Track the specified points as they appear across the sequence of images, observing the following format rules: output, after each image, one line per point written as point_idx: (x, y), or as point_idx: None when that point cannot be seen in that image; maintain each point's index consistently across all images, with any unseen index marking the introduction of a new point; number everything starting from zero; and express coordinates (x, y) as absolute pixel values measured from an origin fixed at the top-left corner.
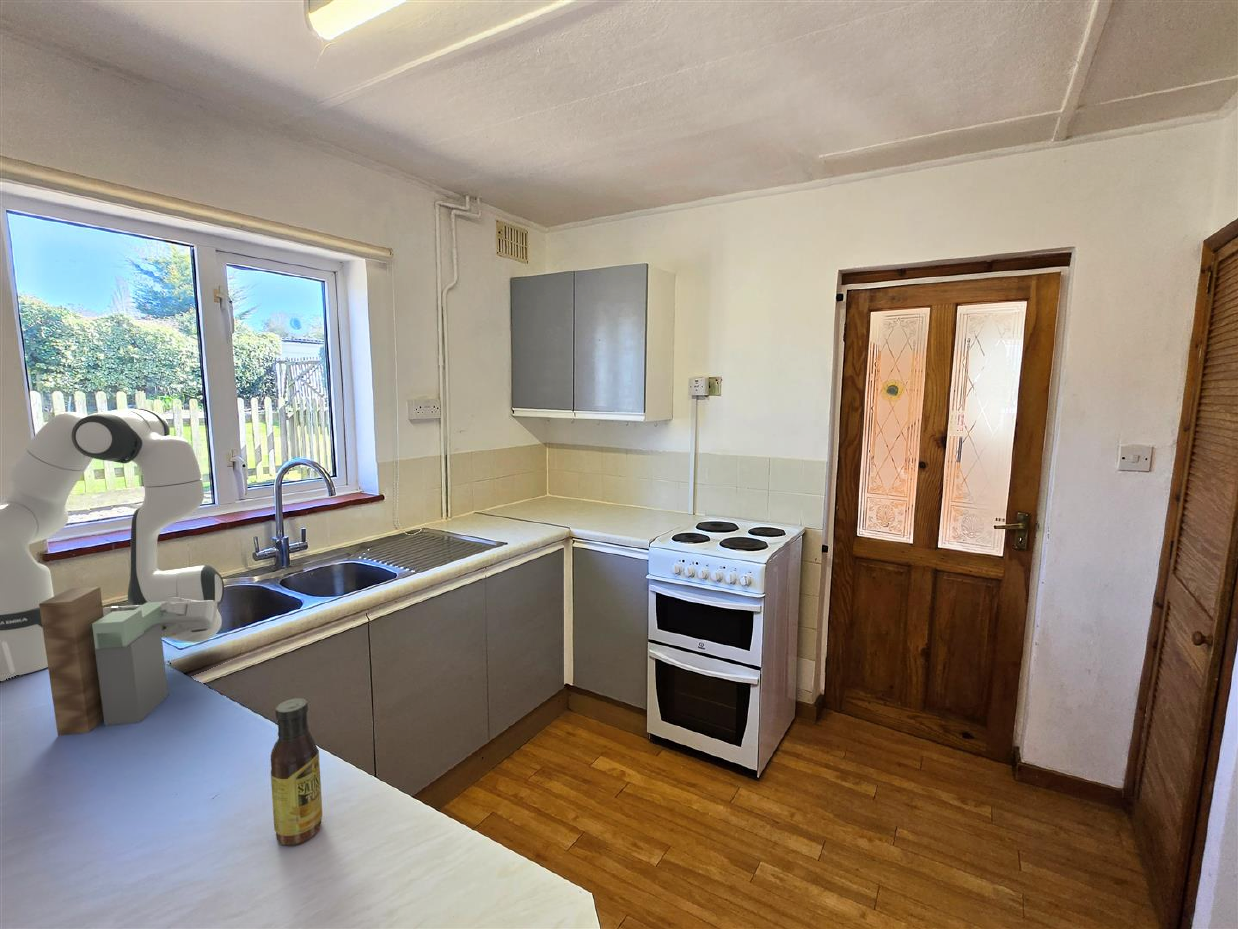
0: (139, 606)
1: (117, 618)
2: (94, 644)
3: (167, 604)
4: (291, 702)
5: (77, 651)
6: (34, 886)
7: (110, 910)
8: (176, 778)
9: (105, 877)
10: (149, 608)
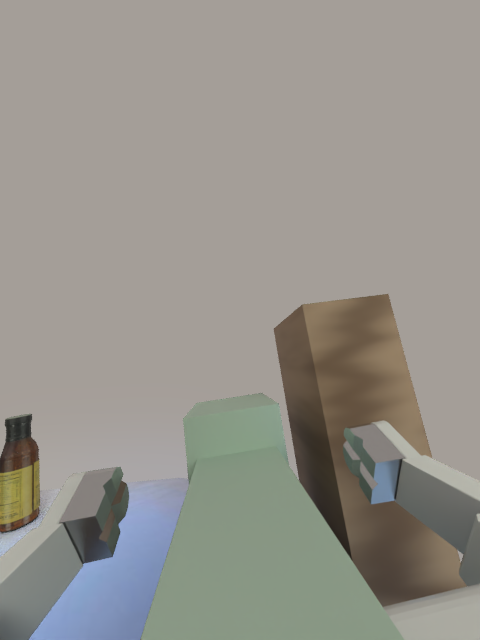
0: (404, 606)
1: (221, 402)
2: (315, 483)
3: (86, 474)
4: (17, 416)
5: (294, 448)
6: (185, 486)
7: (137, 483)
8: (106, 569)
9: (146, 493)
10: (223, 534)
